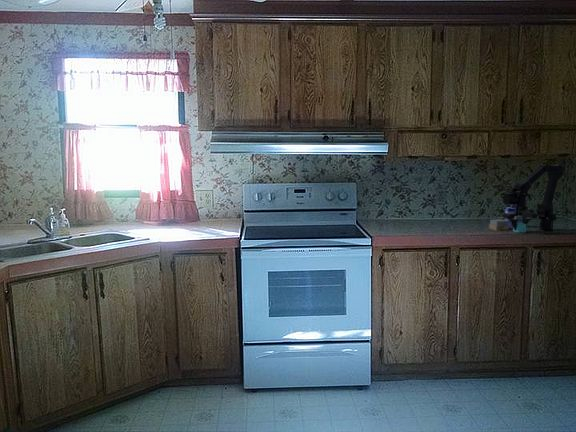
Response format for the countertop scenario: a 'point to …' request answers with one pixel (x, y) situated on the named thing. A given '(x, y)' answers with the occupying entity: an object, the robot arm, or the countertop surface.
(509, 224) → the ink cartridge box
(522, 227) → the teal cube
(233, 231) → the countertop surface
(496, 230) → the tower base
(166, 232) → the countertop surface
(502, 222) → the tower top
